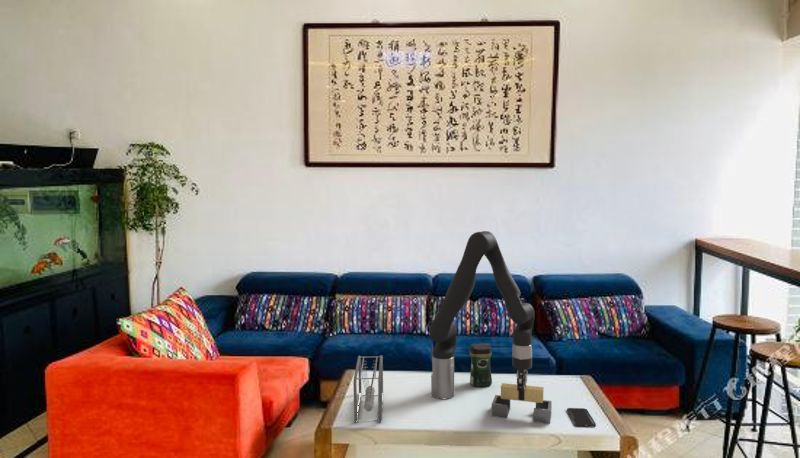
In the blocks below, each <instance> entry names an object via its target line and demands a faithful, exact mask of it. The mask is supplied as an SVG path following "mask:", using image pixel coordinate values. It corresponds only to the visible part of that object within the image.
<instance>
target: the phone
mask: <svg viewBox="0 0 800 458" xmlns="http://www.w3.org/2000/svg"><path fill="white" fill-rule="evenodd" d="M566 412H567V414H568V416H569V418H570V419H571V422H572V423H573V426H575V427H577V428H595V427H597V423H596V422H595V420H594V419H593V417H592V416H591V414H590V411H588V409H587V408H585V407H584V408H583V407H582V408H580V407H579V408H578V407H575V408H574V407H567V409H566Z"/></svg>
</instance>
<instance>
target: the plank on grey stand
mask: <svg viewBox="0 0 800 458" xmlns="http://www.w3.org/2000/svg"><path fill="white" fill-rule="evenodd" d="M552 402H553V401H552V400H546V399H543V403H536V402H535V407H534V408H533V422H534V423H535V422H536V423H543V424H544V423H545V424H551V420H552V409H553V408H552V404H553V403H552ZM510 410H511V400H509V399H501V394H500V395H499V394H495V395H494V397H493V400H492V402H491V417H494V418H501V419H502V418H503V419H508V418H509V414H510Z"/></svg>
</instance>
